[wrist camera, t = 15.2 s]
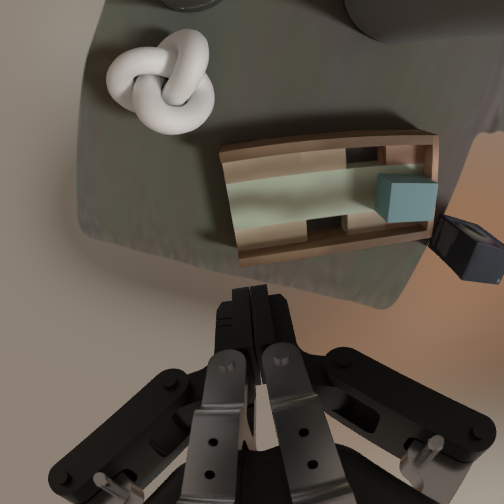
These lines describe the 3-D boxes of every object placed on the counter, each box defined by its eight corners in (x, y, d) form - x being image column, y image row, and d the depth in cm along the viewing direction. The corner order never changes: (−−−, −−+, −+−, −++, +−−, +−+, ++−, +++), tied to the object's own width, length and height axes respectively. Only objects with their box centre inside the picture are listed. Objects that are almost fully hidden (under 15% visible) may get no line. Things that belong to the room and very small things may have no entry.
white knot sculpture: (245, 97, 33) (248, 97, 25) (163, 151, 36) (143, 167, 28) (194, 25, 28) (182, 6, 20) (114, 83, 31) (82, 82, 23)
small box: (479, 222, 43) (516, 251, 34) (466, 254, 46) (499, 286, 37) (440, 211, 41) (479, 241, 32) (426, 247, 44) (460, 282, 35)
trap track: (220, 145, 36) (218, 152, 31) (418, 129, 35) (438, 135, 31) (239, 248, 43) (240, 267, 38) (415, 222, 42) (431, 237, 38)
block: (377, 173, 35) (391, 182, 32) (422, 174, 35) (438, 183, 32) (374, 210, 38) (387, 222, 34) (417, 208, 38) (432, 220, 34)
